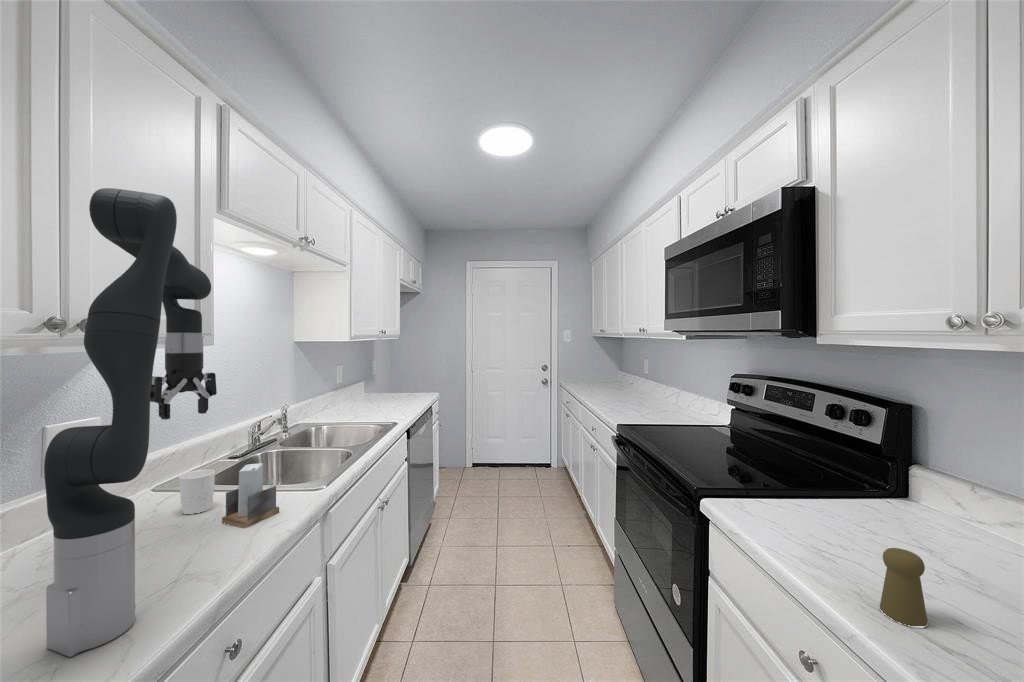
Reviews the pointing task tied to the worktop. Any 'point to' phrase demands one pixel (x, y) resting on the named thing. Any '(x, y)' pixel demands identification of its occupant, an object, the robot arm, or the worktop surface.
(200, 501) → the white cup
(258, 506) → the brown gray open holder
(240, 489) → the skincare box
